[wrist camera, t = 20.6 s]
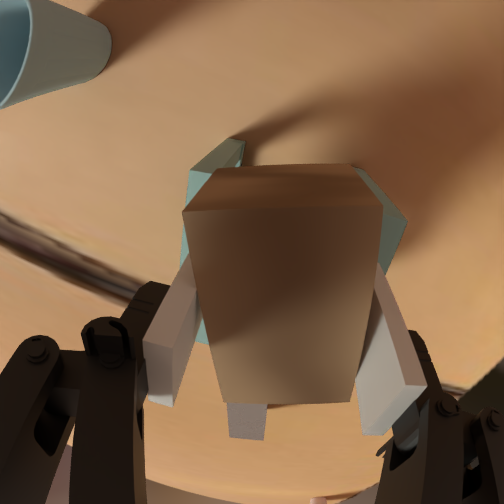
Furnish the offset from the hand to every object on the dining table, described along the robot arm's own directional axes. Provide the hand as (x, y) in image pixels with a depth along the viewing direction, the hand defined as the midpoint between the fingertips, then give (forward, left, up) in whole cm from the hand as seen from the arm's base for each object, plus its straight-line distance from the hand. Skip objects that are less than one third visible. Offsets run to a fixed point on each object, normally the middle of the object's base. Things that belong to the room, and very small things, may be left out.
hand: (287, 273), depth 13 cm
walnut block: (0, 0, 0) cm, 1 cm away
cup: (-18, +9, -11) cm, 23 cm away
